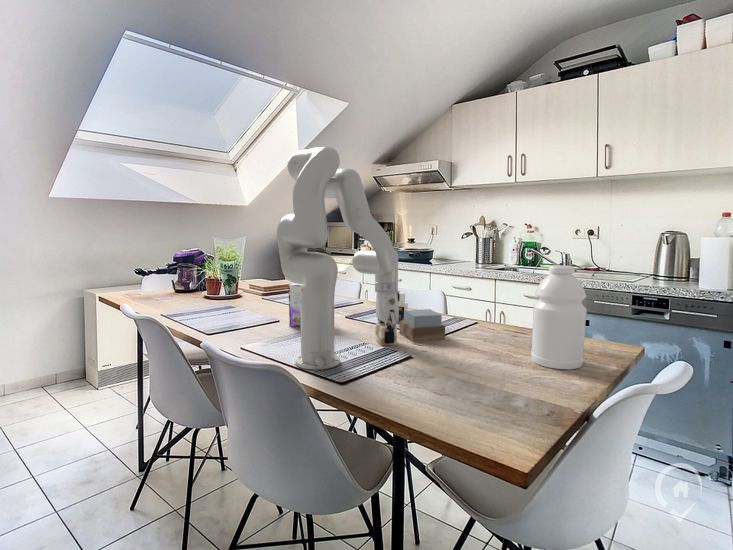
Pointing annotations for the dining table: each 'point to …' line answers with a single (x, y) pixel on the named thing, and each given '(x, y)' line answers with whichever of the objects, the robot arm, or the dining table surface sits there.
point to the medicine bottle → (401, 306)
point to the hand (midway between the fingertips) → (385, 340)
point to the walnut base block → (421, 332)
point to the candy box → (295, 304)
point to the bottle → (559, 320)
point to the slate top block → (422, 318)
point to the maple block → (383, 334)
